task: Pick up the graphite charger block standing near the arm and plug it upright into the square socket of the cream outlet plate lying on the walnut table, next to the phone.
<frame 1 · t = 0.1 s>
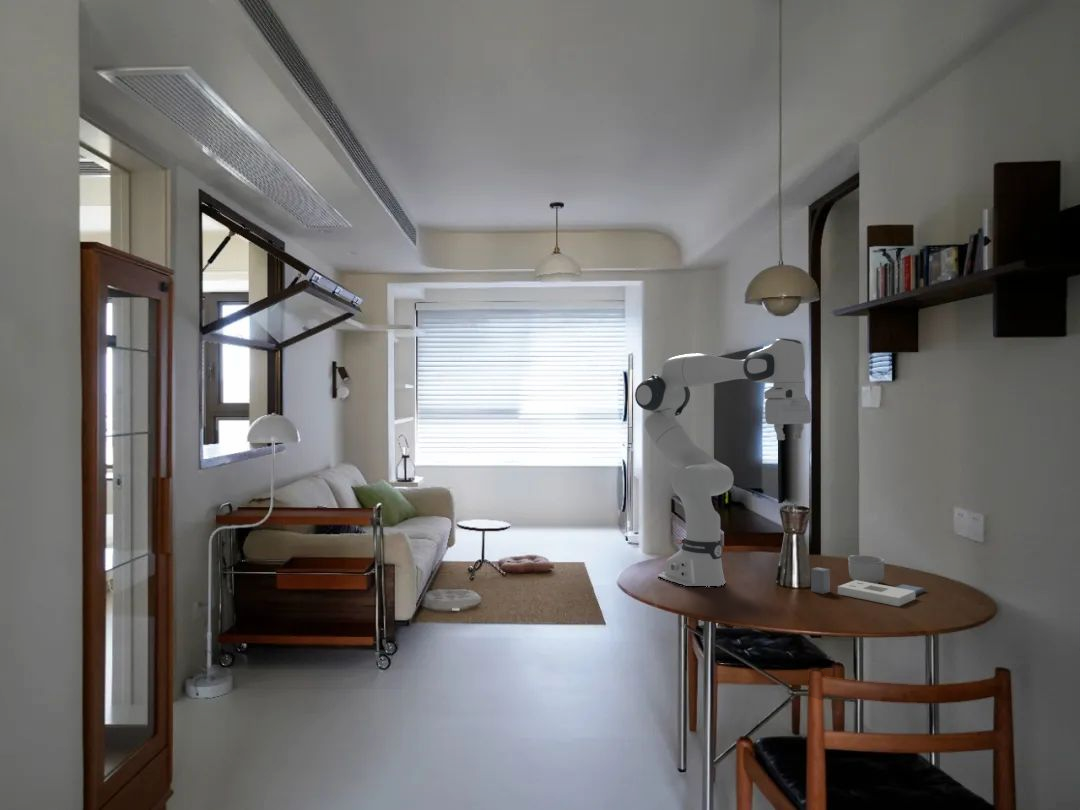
hand: (789, 439, 209), 48 cm above the table, fingers open, 8 cm apart
phone: (906, 592, 219), on the table
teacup: (863, 582, 233), on the table
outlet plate: (876, 596, 214), on the table
charger: (820, 591, 220), on the table
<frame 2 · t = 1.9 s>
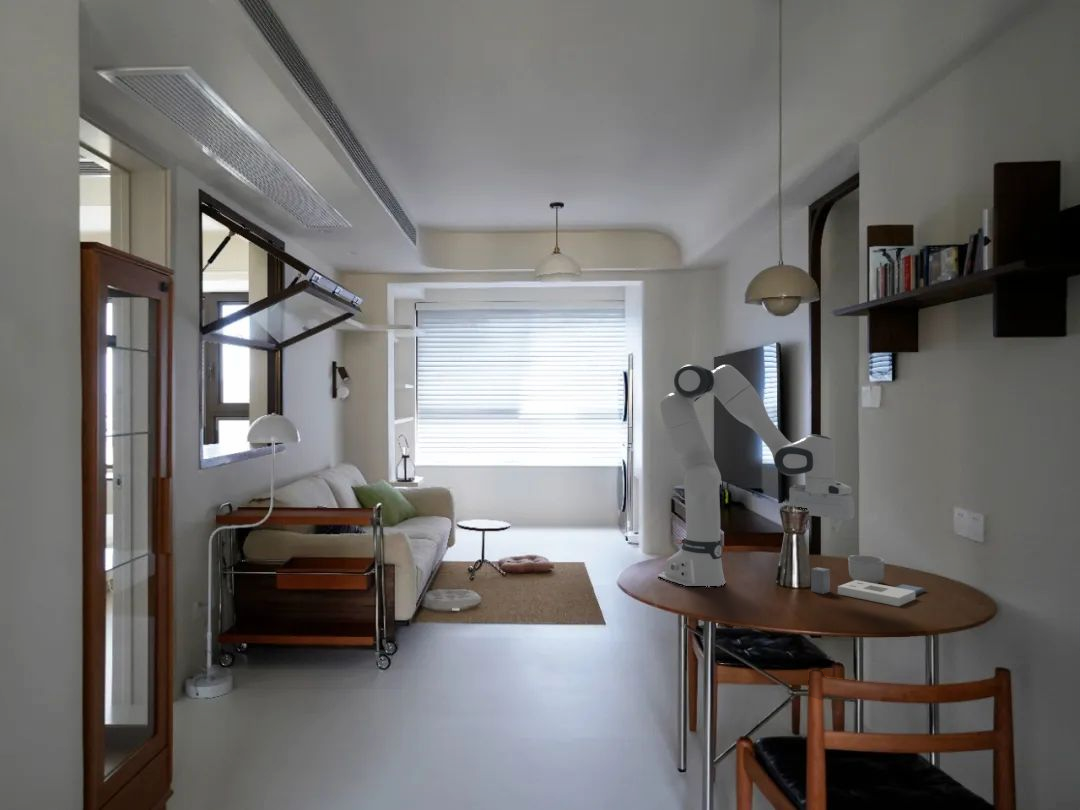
hand: (820, 530, 220), 19 cm above the table, fingers open, 8 cm apart
nothing on the table moved.
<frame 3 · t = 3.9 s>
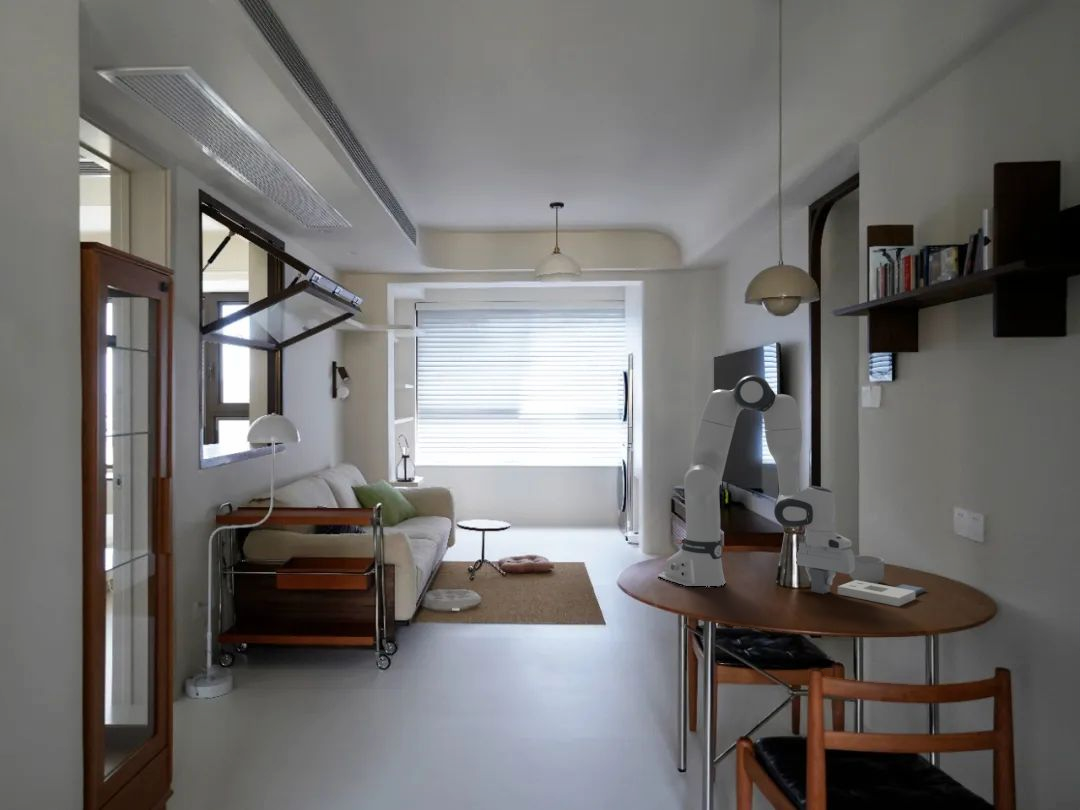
hand: (820, 583, 220), 3 cm above the table, fingers closed on charger, 4 cm apart
charger: (820, 591, 220), on the table, touching gripper
everything else where it was.
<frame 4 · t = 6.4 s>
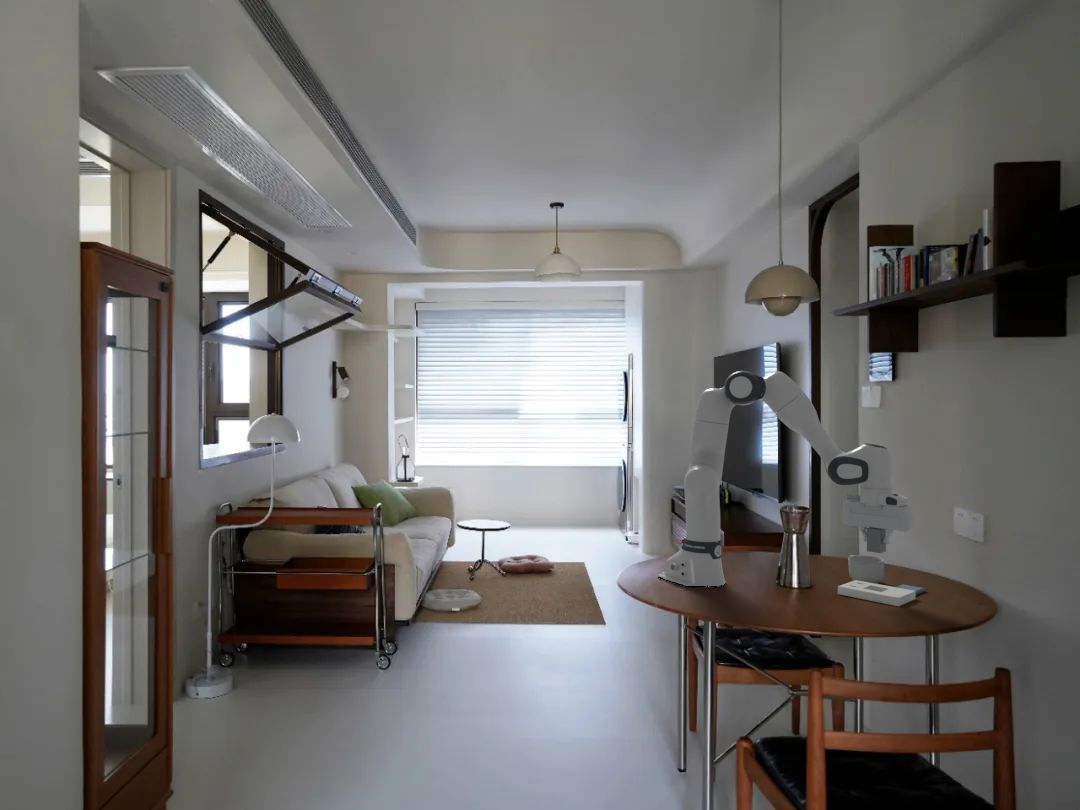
hand: (876, 542, 214), 16 cm above the table, fingers closed on charger, 4 cm apart
charger: (876, 551, 214), point 14 cm above the table, touching gripper
everything else where it was.
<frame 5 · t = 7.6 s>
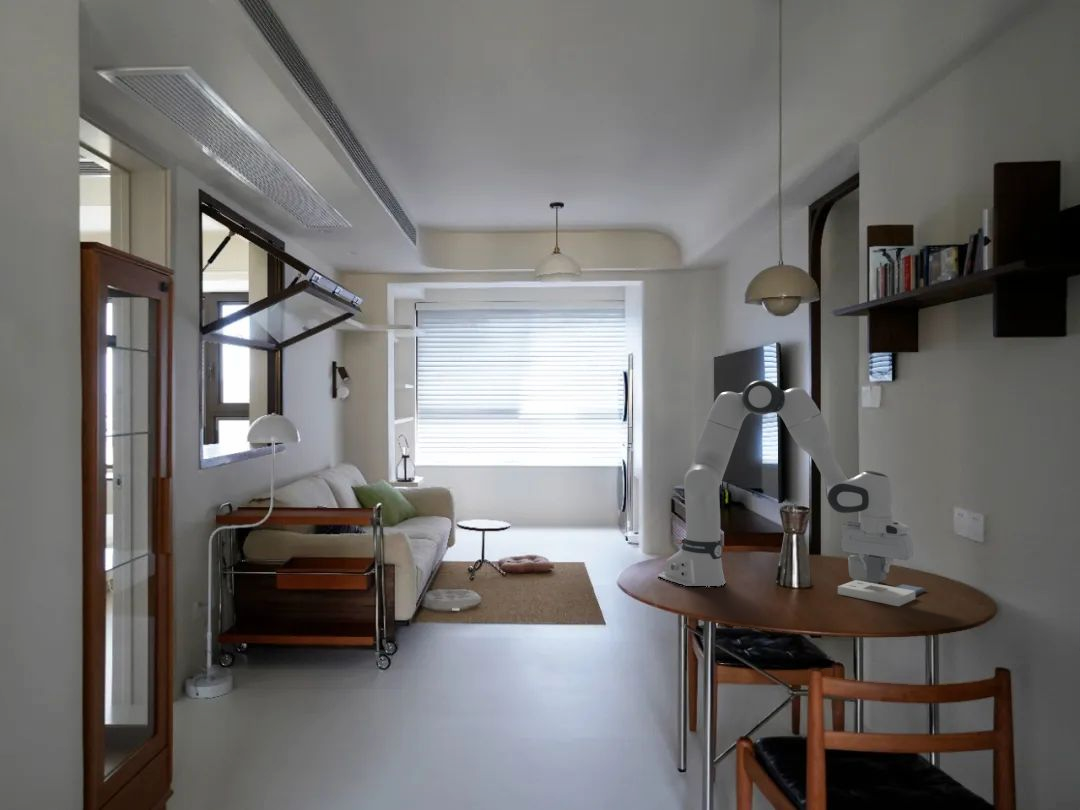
hand: (876, 570, 214), 8 cm above the table, fingers closed on charger, 4 cm apart
charger: (876, 579, 214), point 5 cm above the table, touching gripper
everything else where it was.
when the fingers open (4 cm above the table, at t = 8.7 s): charger stays where it is, resting on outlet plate.
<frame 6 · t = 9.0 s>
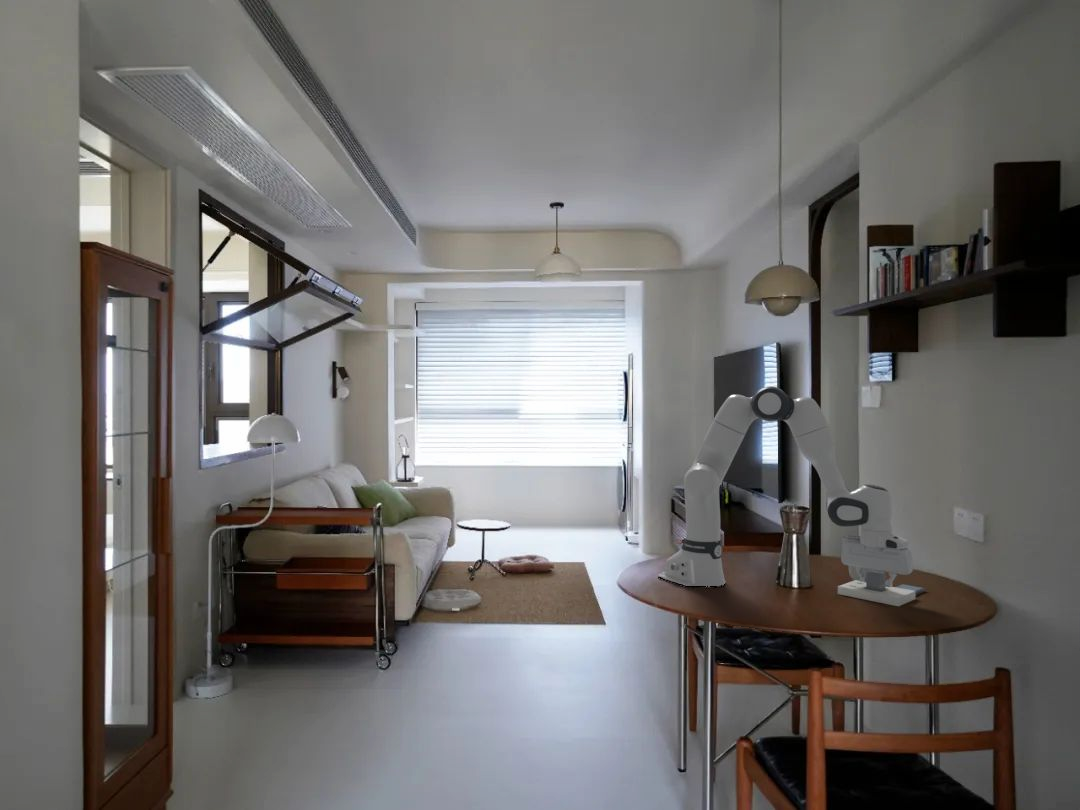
hand: (875, 584, 214), 4 cm above the table, fingers open, 6 cm apart
charger: (875, 595, 214), resting on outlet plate
everything else where it was.
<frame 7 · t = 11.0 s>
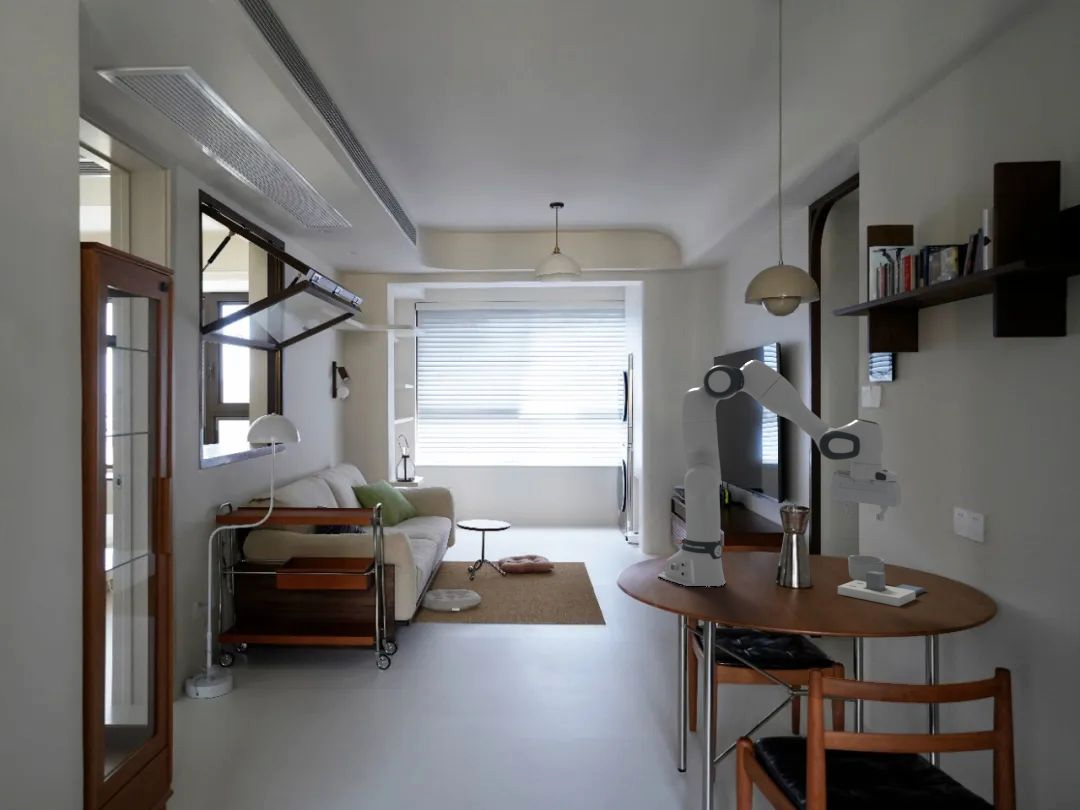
hand: (864, 517, 216), 24 cm above the table, fingers open, 8 cm apart
nothing on the table moved.
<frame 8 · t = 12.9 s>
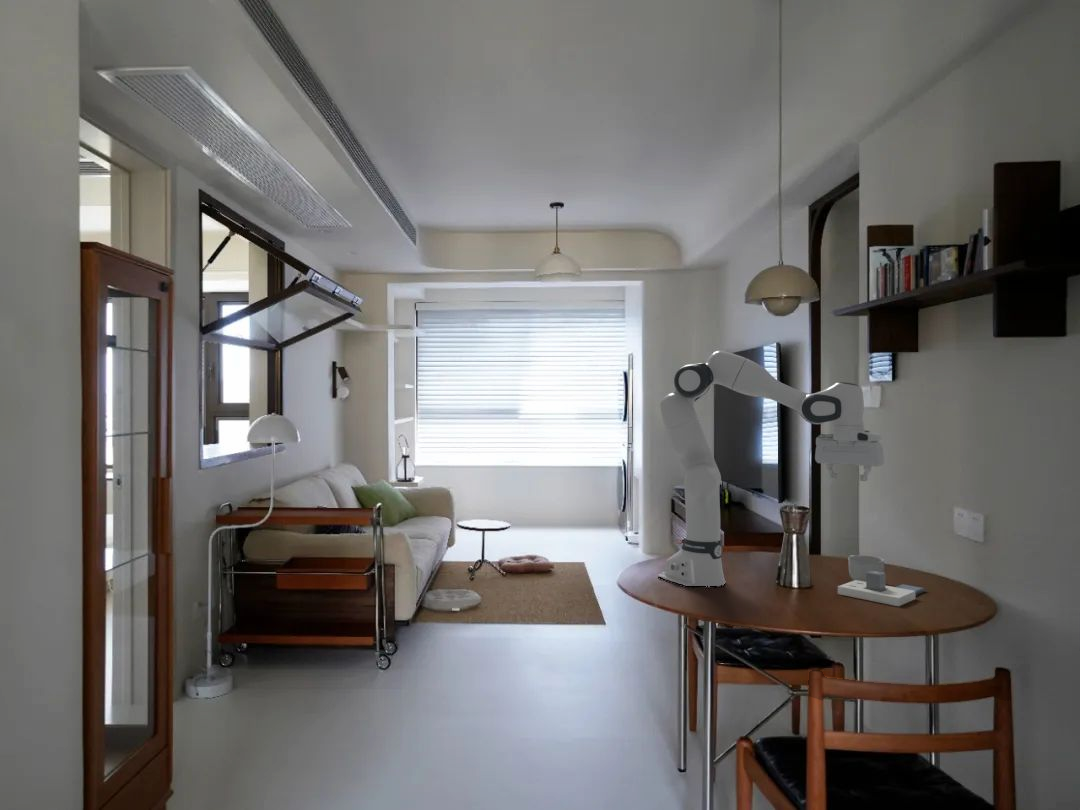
hand: (848, 479, 218), 35 cm above the table, fingers open, 8 cm apart
nothing on the table moved.
at the end: charger 0.1 cm off-centre on the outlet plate, point 0.2 cm above the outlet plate's base; charger tilted 0°; the gripper is holding nothing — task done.
